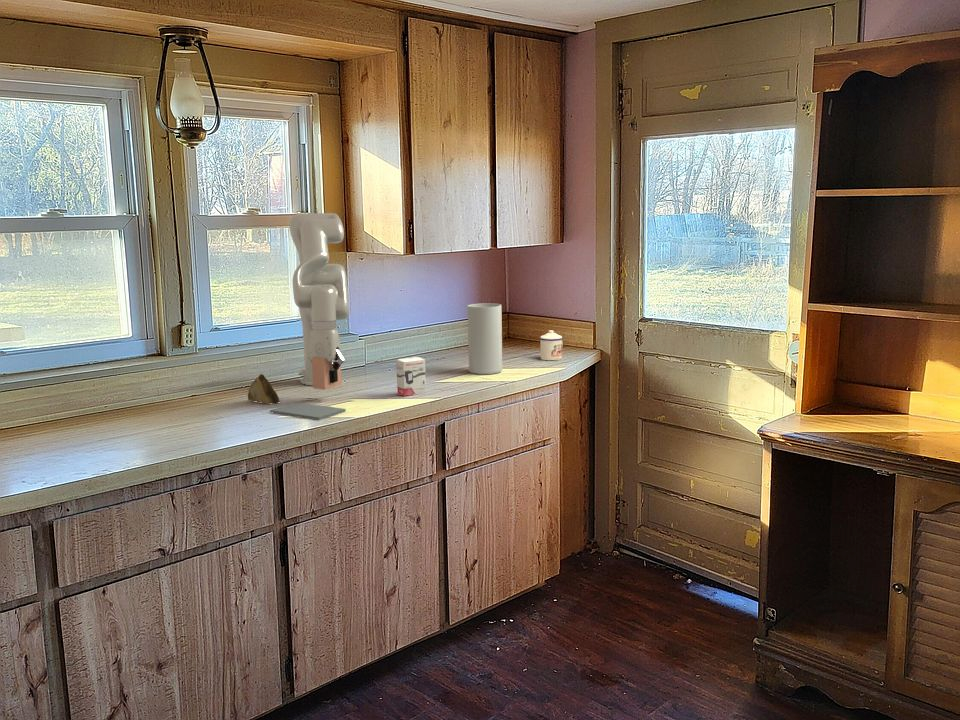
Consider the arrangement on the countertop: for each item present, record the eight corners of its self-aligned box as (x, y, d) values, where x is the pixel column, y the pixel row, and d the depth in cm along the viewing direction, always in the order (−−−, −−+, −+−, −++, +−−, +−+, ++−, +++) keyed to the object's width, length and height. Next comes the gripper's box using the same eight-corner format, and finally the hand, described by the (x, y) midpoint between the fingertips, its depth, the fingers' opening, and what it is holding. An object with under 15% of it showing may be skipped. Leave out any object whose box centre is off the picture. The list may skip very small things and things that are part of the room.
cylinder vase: (506, 373, 319) (505, 306, 315) (473, 375, 316) (472, 307, 312) (497, 367, 331) (496, 302, 327) (465, 369, 328) (464, 304, 324)
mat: (270, 412, 265) (269, 410, 265) (297, 404, 275) (297, 402, 275) (319, 420, 255) (318, 417, 255) (345, 411, 265) (345, 408, 265)
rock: (238, 394, 281) (246, 396, 272) (251, 372, 283) (260, 372, 275) (266, 411, 286) (275, 412, 277) (279, 388, 288) (288, 389, 279)
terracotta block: (313, 388, 279) (311, 357, 277) (329, 383, 285) (328, 353, 284) (325, 389, 276) (323, 359, 274) (341, 385, 283) (340, 355, 281)
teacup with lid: (553, 361, 341) (553, 332, 339) (535, 359, 347) (535, 330, 345) (571, 357, 350) (571, 329, 348) (552, 355, 356) (552, 327, 354)
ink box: (404, 396, 284) (402, 361, 282) (396, 394, 288) (395, 359, 286) (426, 393, 289) (425, 358, 286) (419, 390, 293) (418, 356, 291)
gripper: (296, 325, 278) (299, 380, 282) (336, 328, 270) (339, 386, 273) (312, 322, 285) (315, 376, 288) (352, 325, 276) (355, 381, 279)
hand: (327, 380), depth 280 cm, fingers closed on terracotta block, 5 cm apart
